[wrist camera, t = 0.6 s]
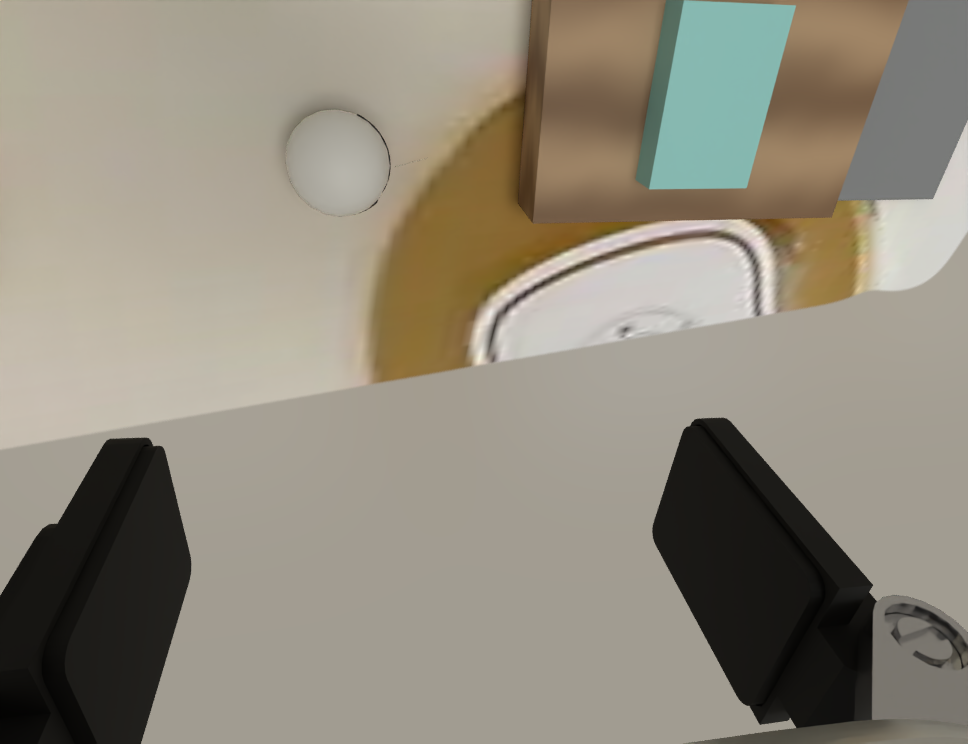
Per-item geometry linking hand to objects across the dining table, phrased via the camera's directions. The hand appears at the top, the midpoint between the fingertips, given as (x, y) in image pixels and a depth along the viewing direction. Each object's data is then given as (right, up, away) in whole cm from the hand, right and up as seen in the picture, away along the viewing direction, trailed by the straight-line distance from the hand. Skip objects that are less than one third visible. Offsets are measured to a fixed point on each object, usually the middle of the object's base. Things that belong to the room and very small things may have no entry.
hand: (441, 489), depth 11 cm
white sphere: (-7, +15, +25) cm, 30 cm away
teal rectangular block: (+13, +17, +22) cm, 31 cm away
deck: (+13, +20, +26) cm, 35 cm away
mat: (+29, +21, +28) cm, 45 cm away
